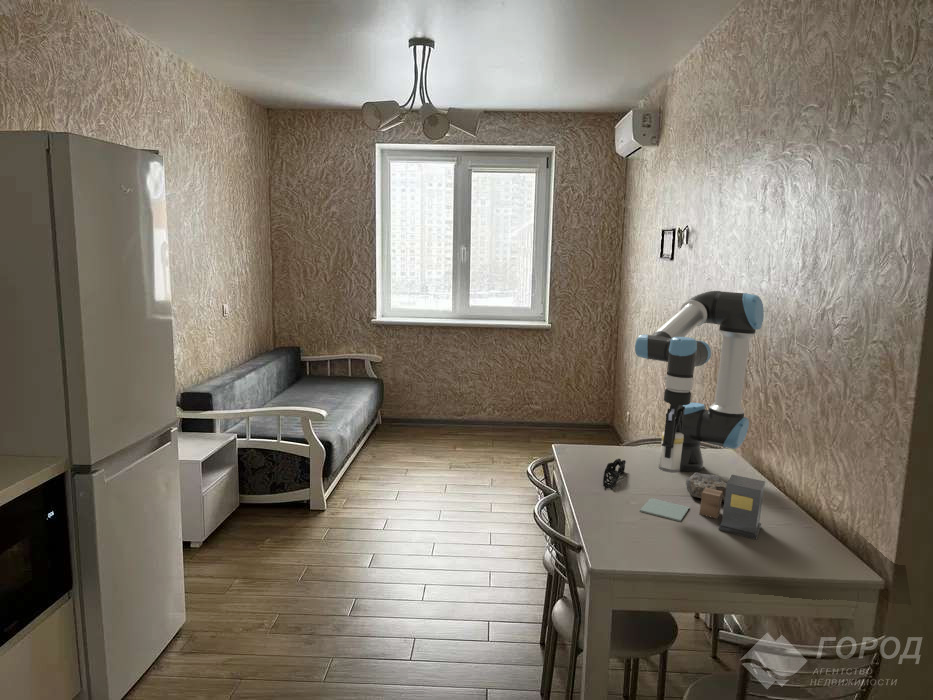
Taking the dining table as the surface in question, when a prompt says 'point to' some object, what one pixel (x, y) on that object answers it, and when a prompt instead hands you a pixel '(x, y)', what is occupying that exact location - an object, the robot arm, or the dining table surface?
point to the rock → (705, 484)
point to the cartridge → (676, 456)
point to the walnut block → (711, 502)
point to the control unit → (742, 506)
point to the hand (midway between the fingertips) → (669, 464)
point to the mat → (665, 509)
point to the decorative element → (613, 472)
